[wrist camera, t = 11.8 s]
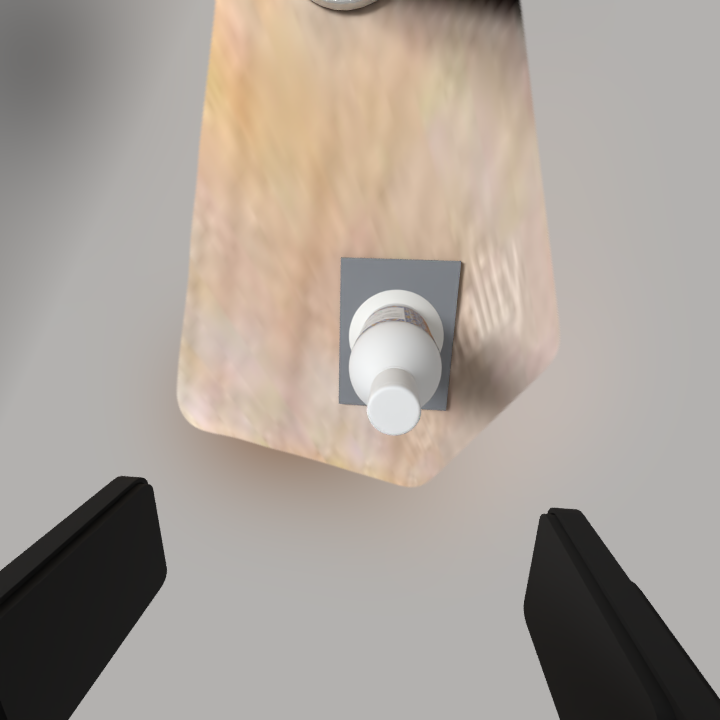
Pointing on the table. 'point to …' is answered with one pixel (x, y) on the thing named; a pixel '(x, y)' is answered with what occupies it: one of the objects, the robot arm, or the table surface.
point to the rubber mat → (402, 286)
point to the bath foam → (395, 367)
